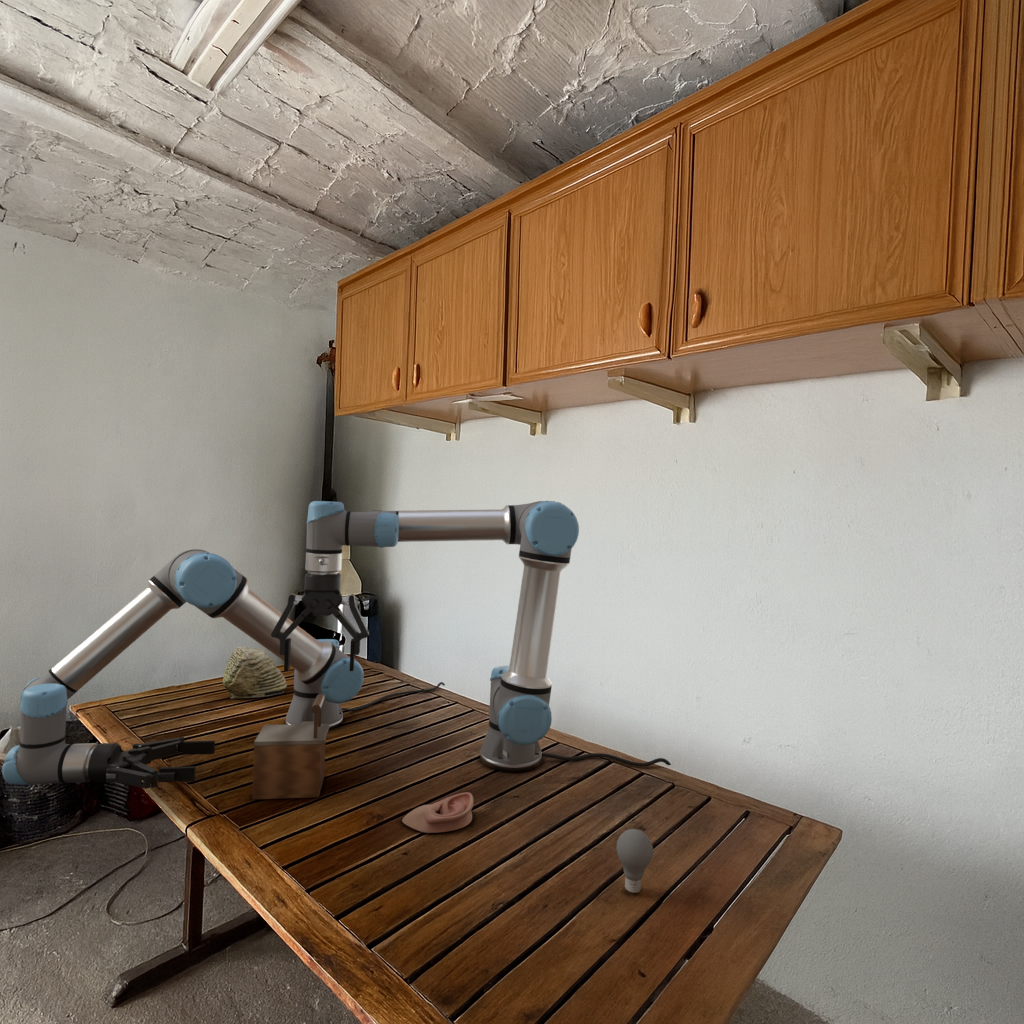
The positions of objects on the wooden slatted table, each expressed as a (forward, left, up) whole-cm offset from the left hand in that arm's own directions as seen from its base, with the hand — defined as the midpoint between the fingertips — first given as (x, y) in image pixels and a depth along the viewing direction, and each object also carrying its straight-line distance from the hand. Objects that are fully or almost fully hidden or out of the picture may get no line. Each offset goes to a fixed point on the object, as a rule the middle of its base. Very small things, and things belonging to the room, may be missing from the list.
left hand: (205, 759), depth 134 cm
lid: (-13, +12, +5) cm, 18 cm away
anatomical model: (-25, +44, -7) cm, 52 cm away
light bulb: (-31, +85, -7) cm, 90 cm away
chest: (-13, +11, -7) cm, 19 cm away
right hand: (-17, +15, +19) cm, 30 cm away
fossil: (-40, -52, -7) cm, 66 cm away
